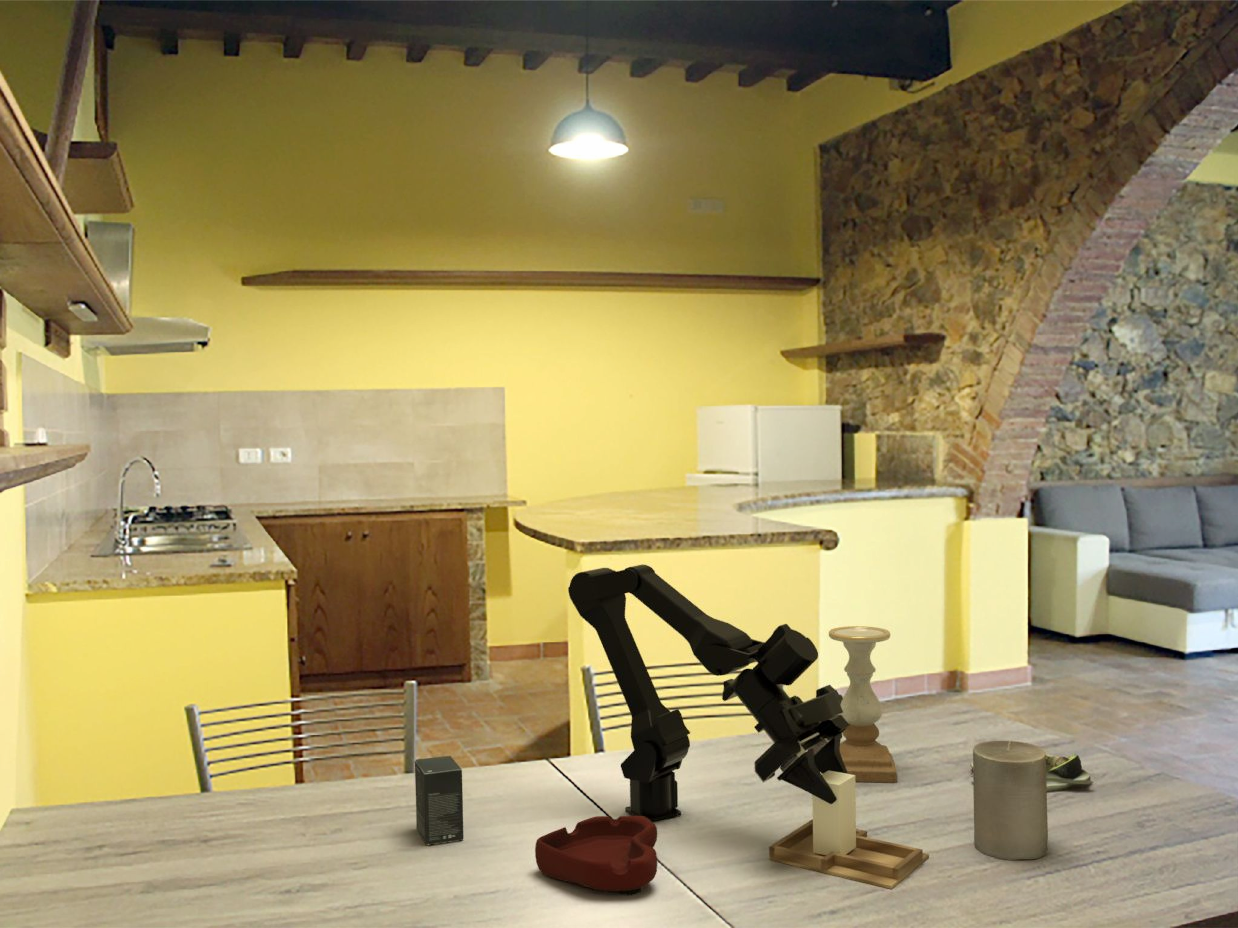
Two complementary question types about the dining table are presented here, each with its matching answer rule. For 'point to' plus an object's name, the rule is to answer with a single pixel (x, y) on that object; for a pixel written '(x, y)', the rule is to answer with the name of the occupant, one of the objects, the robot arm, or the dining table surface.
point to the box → (439, 800)
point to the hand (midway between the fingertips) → (843, 796)
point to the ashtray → (602, 853)
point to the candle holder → (863, 708)
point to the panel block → (835, 816)
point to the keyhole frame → (850, 858)
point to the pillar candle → (1010, 800)
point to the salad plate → (1064, 773)
